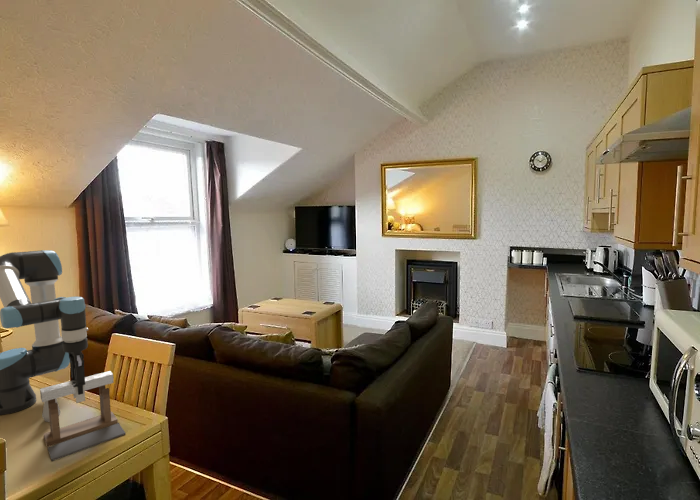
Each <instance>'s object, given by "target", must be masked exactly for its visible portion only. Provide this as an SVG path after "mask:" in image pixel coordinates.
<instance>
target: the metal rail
mask: <svg viewBox="0 0 700 500" xmlns="http://www.w3.org/2000/svg"><path fill="white" fill-rule="evenodd" d="M113 383H114V374H113V372H112V371H111V370H109V371H105V372H101V373H95V374H93V375H89V376H85V385H84V390H85V391H88V390H92V389H95V388H99V387H100V386H103V385H105V386H106V385H111V384H113ZM73 385H76V383H75V380H72V379H71V380H69V381H64V382H61V383H58V384H53V385H49V386H45V387H41V388H39V392H40V400H41V402H42V403H44V402H45V401H49V400H52V399H59V398H63V397H67V396H71V395H73V394H74V393H75V387H73Z"/></svg>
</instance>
